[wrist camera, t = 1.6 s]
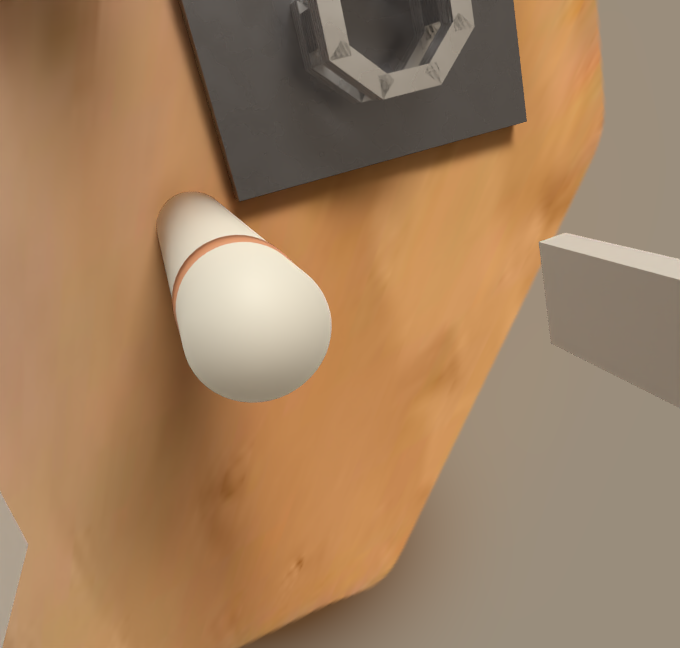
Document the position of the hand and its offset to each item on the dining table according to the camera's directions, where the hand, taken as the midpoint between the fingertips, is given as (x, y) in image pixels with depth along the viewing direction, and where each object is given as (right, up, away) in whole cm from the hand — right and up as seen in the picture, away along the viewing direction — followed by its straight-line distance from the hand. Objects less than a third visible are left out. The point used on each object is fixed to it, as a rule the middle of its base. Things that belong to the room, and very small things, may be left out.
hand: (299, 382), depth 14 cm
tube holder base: (+2, +19, +24) cm, 31 cm away
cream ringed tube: (-8, +7, +24) cm, 27 cm away
